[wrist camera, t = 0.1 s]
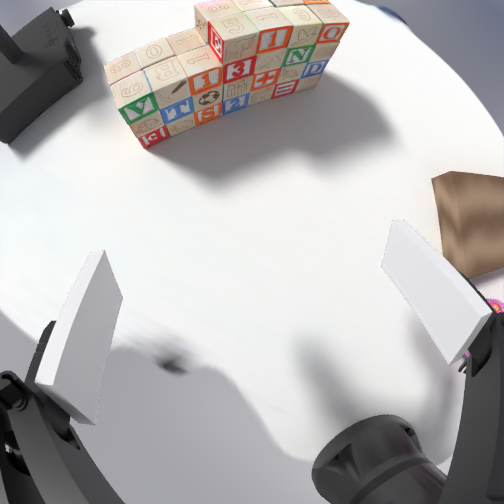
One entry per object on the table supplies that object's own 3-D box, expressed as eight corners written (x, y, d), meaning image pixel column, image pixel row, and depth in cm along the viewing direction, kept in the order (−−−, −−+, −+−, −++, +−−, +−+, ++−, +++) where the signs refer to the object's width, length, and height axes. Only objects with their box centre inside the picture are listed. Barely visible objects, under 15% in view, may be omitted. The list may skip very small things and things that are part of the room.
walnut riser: (521, 255, 32) (537, 254, 28) (444, 278, 30) (465, 279, 26) (512, 185, 32) (527, 181, 28) (431, 178, 30) (450, 171, 26)
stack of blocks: (144, 152, 27) (102, 90, 15) (128, 110, 27) (90, 44, 15) (315, 87, 29) (352, 21, 17) (290, 53, 29) (314, -15, 17)
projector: (98, 74, 27) (38, -30, 7) (7, 148, 25) (-83, 94, 5) (74, 20, 26) (36, -53, 6) (0, 78, 25) (-55, 25, 5)
